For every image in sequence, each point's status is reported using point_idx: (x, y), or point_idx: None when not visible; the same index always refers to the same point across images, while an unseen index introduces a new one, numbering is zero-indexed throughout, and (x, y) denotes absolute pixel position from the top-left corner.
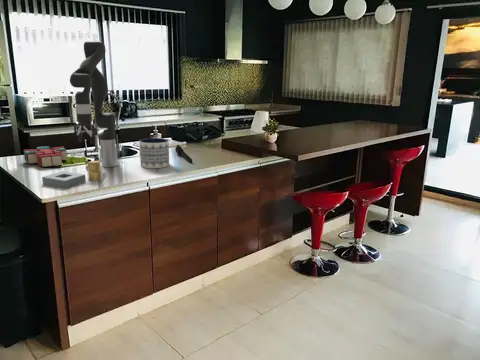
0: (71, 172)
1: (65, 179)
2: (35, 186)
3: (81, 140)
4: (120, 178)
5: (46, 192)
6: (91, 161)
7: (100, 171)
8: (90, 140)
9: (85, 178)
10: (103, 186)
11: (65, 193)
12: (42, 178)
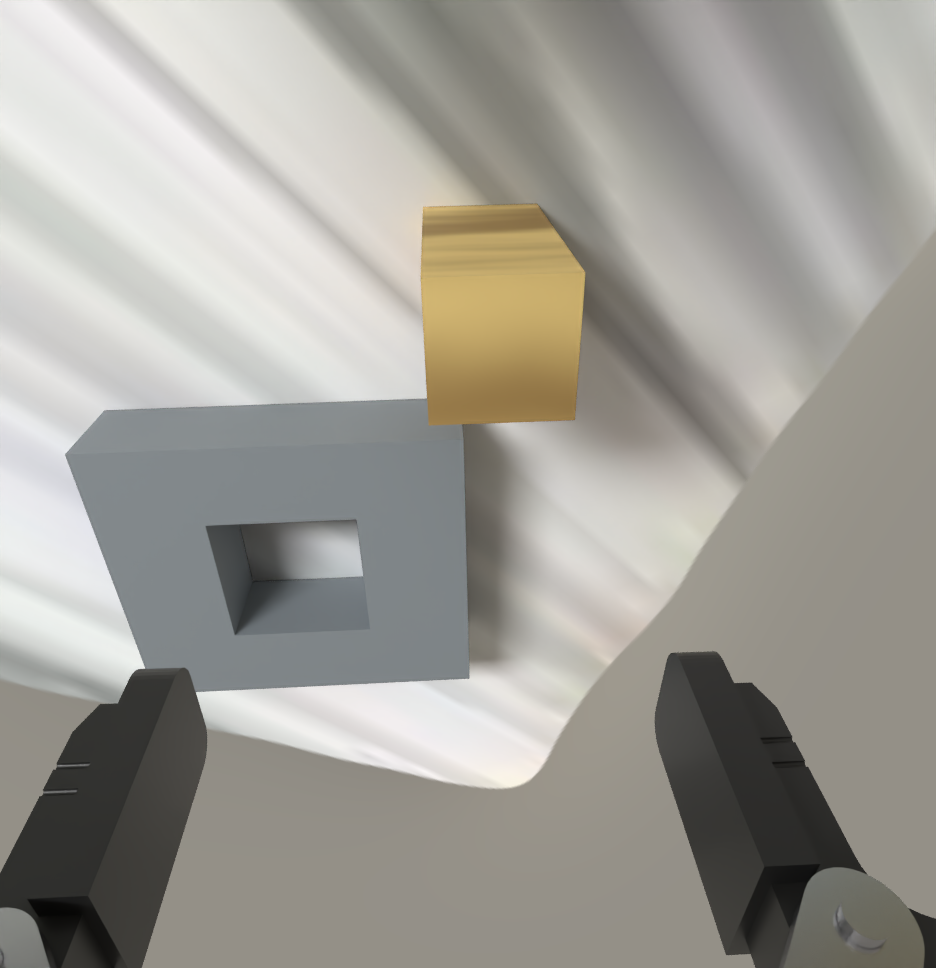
0: (221, 449)
1: (435, 652)
2: None
3: (180, 732)
4: (790, 31)
5: (424, 734)
6: (440, 348)
7: (552, 229)
8: (683, 815)
9: None
10: (763, 438)
11: (575, 696)
12: None
